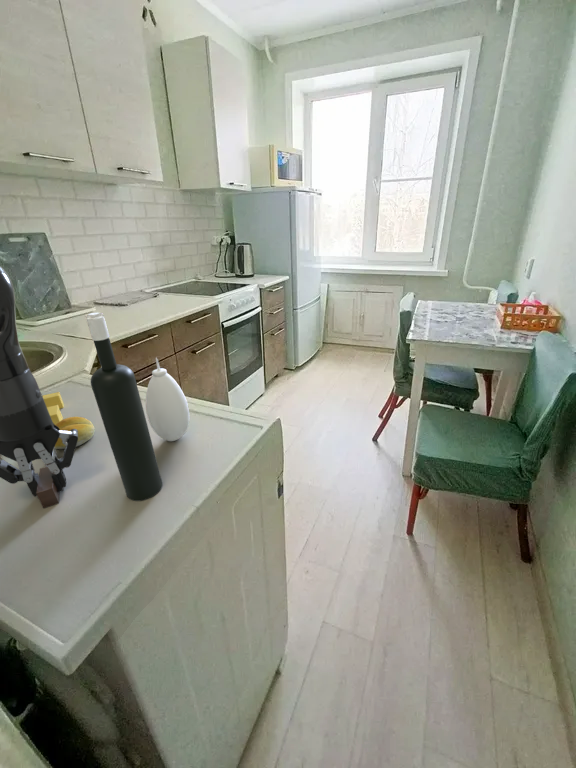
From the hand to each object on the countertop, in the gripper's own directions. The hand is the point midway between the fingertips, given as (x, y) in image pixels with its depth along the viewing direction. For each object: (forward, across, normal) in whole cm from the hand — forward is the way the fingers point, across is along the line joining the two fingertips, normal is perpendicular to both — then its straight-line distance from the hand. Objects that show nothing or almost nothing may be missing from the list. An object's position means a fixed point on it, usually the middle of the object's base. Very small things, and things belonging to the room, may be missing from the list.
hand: (51, 491), depth 60 cm
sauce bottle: (+1, -22, -5) cm, 22 cm away
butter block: (0, +1, -26) cm, 26 cm away
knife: (0, 0, -4) cm, 4 cm away
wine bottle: (0, -14, +7) cm, 16 cm away
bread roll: (0, -3, -17) cm, 17 cm away
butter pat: (0, +1, -35) cm, 35 cm away
